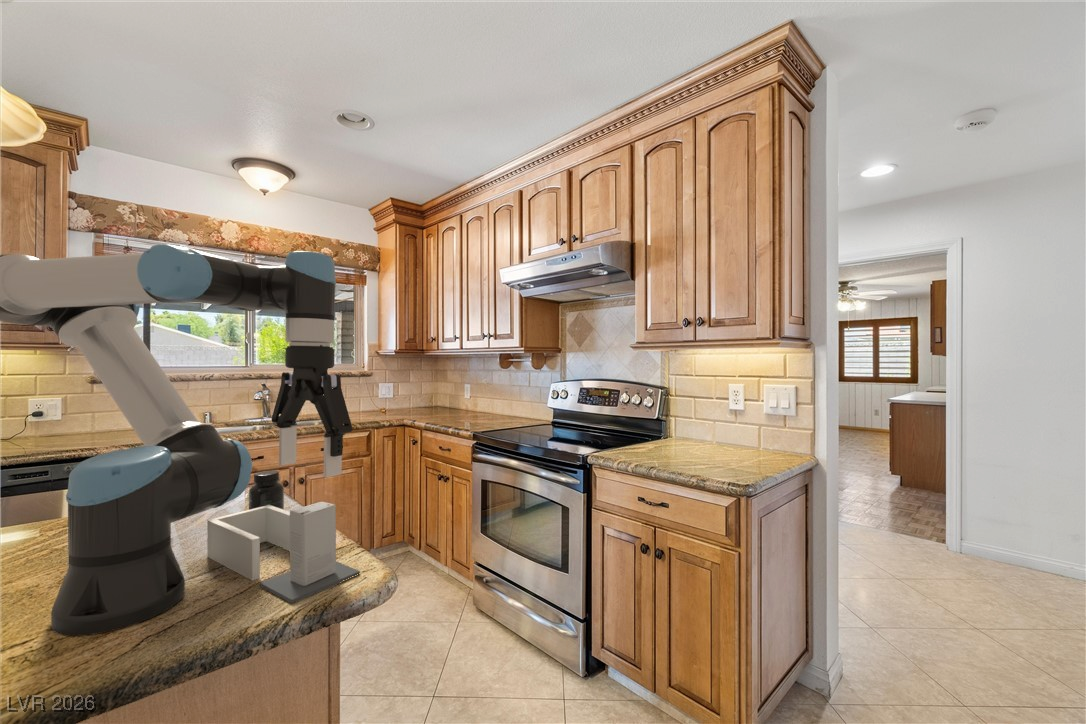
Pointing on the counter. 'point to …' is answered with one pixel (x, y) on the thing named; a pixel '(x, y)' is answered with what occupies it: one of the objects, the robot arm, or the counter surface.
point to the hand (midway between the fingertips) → (309, 469)
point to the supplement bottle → (266, 490)
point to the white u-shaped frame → (247, 537)
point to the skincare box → (312, 542)
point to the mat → (298, 592)
